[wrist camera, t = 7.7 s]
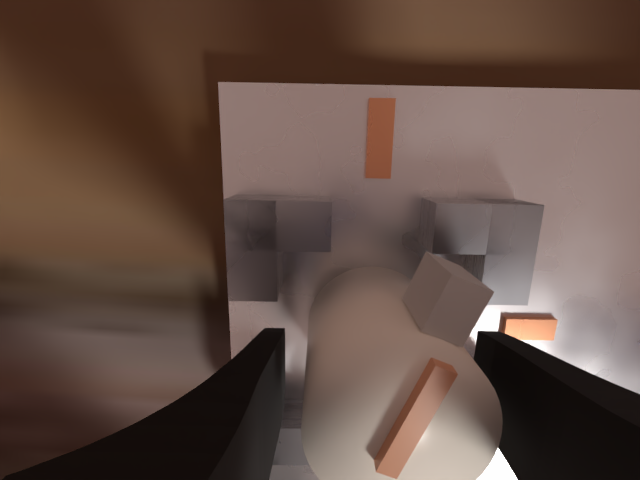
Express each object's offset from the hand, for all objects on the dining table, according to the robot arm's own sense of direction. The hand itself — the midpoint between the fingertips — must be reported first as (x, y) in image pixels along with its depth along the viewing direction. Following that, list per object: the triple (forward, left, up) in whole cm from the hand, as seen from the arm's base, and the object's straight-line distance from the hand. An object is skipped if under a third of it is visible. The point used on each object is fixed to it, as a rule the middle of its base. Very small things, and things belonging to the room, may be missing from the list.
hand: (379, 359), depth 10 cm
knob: (0, 0, -2) cm, 2 cm away
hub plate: (0, -4, -3) cm, 5 cm away
